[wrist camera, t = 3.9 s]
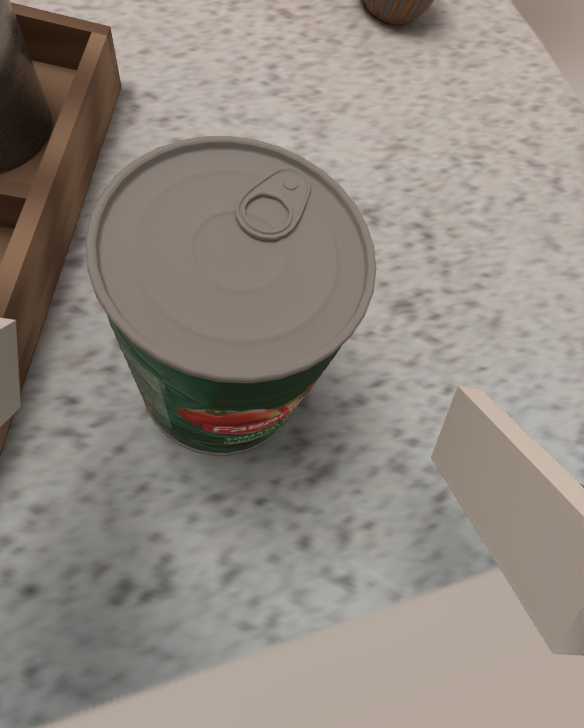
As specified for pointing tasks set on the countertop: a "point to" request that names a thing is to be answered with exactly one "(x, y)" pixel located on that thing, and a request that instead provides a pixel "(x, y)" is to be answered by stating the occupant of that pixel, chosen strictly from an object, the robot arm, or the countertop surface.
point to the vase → (397, 9)
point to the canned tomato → (228, 284)
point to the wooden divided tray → (53, 167)
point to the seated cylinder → (19, 97)
